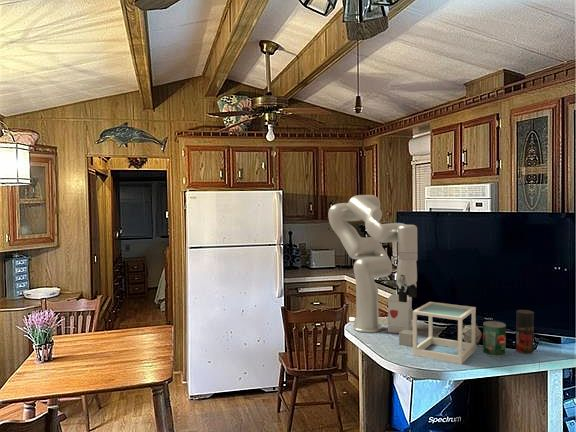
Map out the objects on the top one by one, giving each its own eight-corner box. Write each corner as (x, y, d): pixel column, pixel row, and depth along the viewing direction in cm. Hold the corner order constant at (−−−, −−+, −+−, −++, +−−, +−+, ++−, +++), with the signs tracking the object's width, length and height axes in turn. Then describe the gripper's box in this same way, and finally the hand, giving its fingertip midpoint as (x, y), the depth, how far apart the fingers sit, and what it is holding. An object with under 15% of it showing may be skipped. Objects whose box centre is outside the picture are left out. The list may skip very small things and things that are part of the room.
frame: (412, 355, 189) (412, 311, 188) (429, 342, 204) (429, 301, 203) (461, 364, 179) (461, 317, 178) (475, 350, 193) (475, 307, 192)
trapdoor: (418, 313, 189) (418, 311, 189) (431, 305, 201) (431, 303, 201) (457, 320, 181) (457, 317, 181) (469, 311, 192) (469, 309, 192)
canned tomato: (507, 357, 185) (507, 327, 185) (483, 355, 187) (484, 326, 187) (504, 350, 193) (504, 321, 192) (481, 348, 195) (482, 320, 194)
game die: (473, 352, 203) (484, 330, 205) (478, 351, 194) (490, 328, 196) (452, 339, 205) (464, 318, 207) (457, 338, 197) (469, 316, 199)
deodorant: (512, 350, 193) (512, 310, 192) (524, 347, 195) (524, 309, 194) (525, 354, 188) (525, 314, 187) (537, 352, 190) (537, 312, 189)
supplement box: (387, 332, 219) (387, 297, 218) (391, 327, 227) (391, 293, 226) (408, 334, 215) (408, 299, 214) (412, 328, 224) (412, 294, 223)
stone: (399, 345, 202) (399, 332, 201) (404, 341, 206) (404, 329, 206) (411, 347, 199) (411, 334, 199) (416, 343, 203) (416, 331, 203)
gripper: (406, 253, 209) (407, 294, 210) (389, 258, 195) (389, 302, 196) (424, 254, 205) (424, 296, 206) (408, 259, 191) (408, 305, 192)
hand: (407, 299), depth 201 cm, fingers open, 9 cm apart
